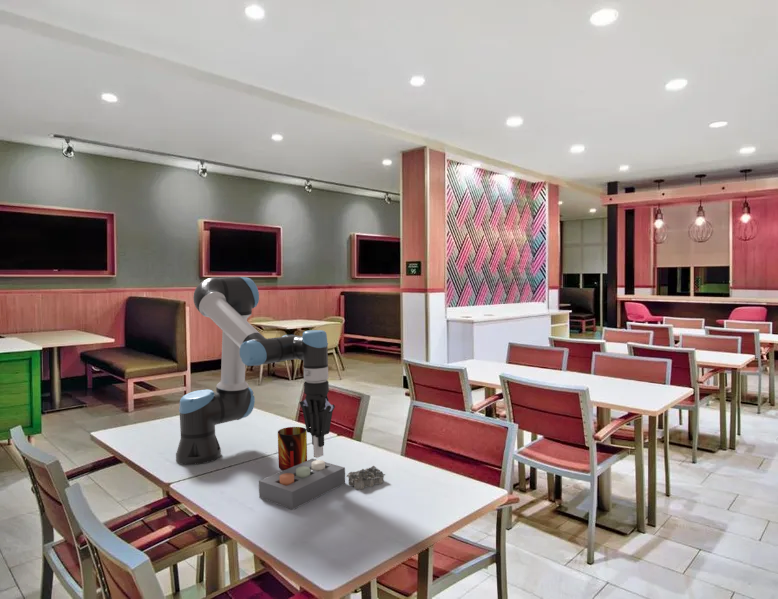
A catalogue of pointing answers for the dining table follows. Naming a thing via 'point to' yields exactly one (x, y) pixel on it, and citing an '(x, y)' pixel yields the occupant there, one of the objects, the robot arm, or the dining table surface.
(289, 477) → the rust button
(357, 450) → the dining table surface
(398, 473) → the dining table surface
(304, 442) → the mug
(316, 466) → the cream button
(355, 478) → the egg carton
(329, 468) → the console
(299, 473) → the sage button
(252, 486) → the dining table surface
